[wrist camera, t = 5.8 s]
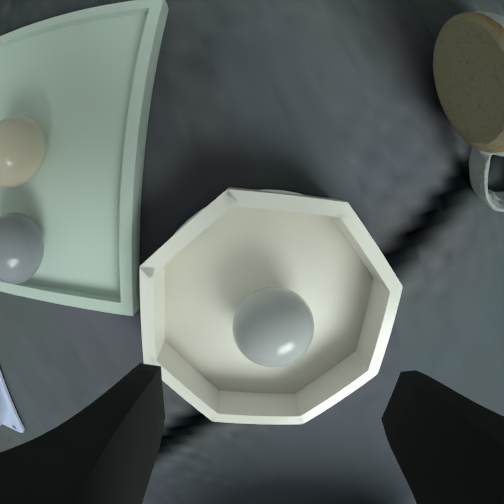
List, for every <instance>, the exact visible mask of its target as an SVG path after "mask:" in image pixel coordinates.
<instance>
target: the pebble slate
mask: <svg viewBox="0 0 504 504" xmlns="http://www.w3.org/2000/svg"><path fill="white" fill-rule="evenodd" d="M43 255H44V241H43V236H42V233H41V231H40V229H39V227H38V226H37V224H36V223H35V222H34V221H33V220H32V219H31V218H30V217H28V216H26V215H24V214H21V213H16V212H12V213H6V214H3V215H1V216H0V280H1V281H3V282H6V283H10V284H18V283H22V282H24V281H26V280H28V279H29V278H31V277H32V276H33V275H34V274H35V273H36V272H37V270H38V268H39V267H40V265H41V262H42V259H43Z"/></svg>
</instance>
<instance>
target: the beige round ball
mask: <svg viewBox="0 0 504 504" xmlns="http://www.w3.org/2000/svg"><path fill="white" fill-rule="evenodd" d="M45 153H46V140H45V135H44V132H43V130H42V128H41V127H40V125H39V124H38V123H37V122H36V121H35V120H34V119H32V118H30V117H28V116H25V115H12V116H9V117H6V118H4V119H3V120H1V121H0V185H1V186H4V187H16V186H19V185H22V184H24V183H26V182H27V181H29V180H30V179H31V178H32V177H33V176H34V175H35V174H36V173H37V172H38V170H39V169H40V167H41V165H42V163H43V160H44V157H45Z"/></svg>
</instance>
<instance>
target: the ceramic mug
mask: <svg viewBox="0 0 504 504" xmlns="http://www.w3.org/2000/svg"><path fill="white" fill-rule="evenodd" d="M433 74H434V80H435V86H436V91H437V94H438V97H439V100H440V103H441V106H442V109H443V110H444V112H445V114H446V116H447V118H448V120H449V122H450V123H451V125H452V126H453V128H454V129H455V131H456V132H457V133H458V134H459V135H460V136H461V137H462V139H463V140H464V141H466V142H467V143H468V144H470V145H471V146H472V147H471V153H470V158H469V170H470V173H469V175H470V183H471V186H472V188H473V191H474V192H475V194H476V195H477V196H478V197H479V198H480V199H481V200H482V201H484V202H485V203H486V204H487V205H488V206H489V207H490V208H492V209H493V210H496V211H499V212H504V191H503V192H493V191H492V190H490V189H488V186H487V183H488V170H489V166H490V158H491V155H498V156H504V16H501V15H498V14H493V13H487V12H464V13H460V14H457V15H455V16H453V17H452V18H450V19H449V20H448V21H447V22H446V23H445V24H444V25H443V27H442V29H441V31H440V33H439V35H438V37H437V39H436V43H435V47H434V54H433Z"/></svg>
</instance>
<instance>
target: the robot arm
mask: <svg viewBox="0 0 504 504" xmlns="http://www.w3.org/2000/svg"><path fill="white" fill-rule="evenodd" d="M164 420H165V412H164V401H163V388H162V374H161V366H156V365H149V364H143V363H140V364H139V365H137V366H136V367H135V368H134V369H132V370H131V371H130V372H129V373H128V374H127V375H125V376H124V377H123V378H122V379H121V380H120V381H119V382H117V383H116V384H115V385H114V386H113V387H111V388H110V389H109V390H108V391H107V392H105V393H104V394H103V395H102V396H100V397H99V398H98V399H96V400H95V401H94V402H93V403H91V404H90V405H89V406H87V407H86V408H84V409H83V410H82V411H80V412H79V413H77V414H76V415H74V416H73V417H72V418H70V419H69V420H67V421H66V422H64V423H62V424H61V425H59V426H58V427H56V428H54V429H52V430H51V431H49V432H47V433H45V434H43V435H41V436H39V437H37V438H35V439H33V440H31V441H29V442H26V443H24V444H21V445H19V446H16V447H14V448H11V449H9V450H6V451H4V452H1V453H0V504H142V501H143V498H144V495H145V492H146V488H147V485H148V482H149V479H150V476H151V472H152V469H153V466H154V463H155V460H156V457H157V453H158V450H159V447H160V442H161V437H162V432H163V426H164ZM382 422H383V426H384V429H385V433H386V436H387V439H388V442H389V445H390V447H391V449H392V451H393V453H394V455H395V457H396V459H397V462H398V464H399V466H400V468H401V470H402V472H403V474H404V476H405V478H406V480H407V482H408V484H409V486H410V488H411V490H412V493H413V495H414V498H415V500H416V503H417V504H504V416H502V415H499V414H497V413H495V412H493V411H491V410H489V409H487V408H485V407H483V406H481V405H479V404H477V403H475V402H473V401H471V400H470V399H468V398H466V397H464V396H462V395H461V394H459V393H457V392H455V391H454V390H452V389H450V388H448V387H447V386H445V385H443V384H441V383H440V382H438V381H436V380H434V379H432V378H431V377H429V376H427V375H425V374H423V373H421V372H418V371H416V370H415V371H405V372H401V373H400V376H399V378H398V381H397V383H396V386H395V388H394V391H393V393H392V396H391V398H390V401H389V403H388V405H387V408H386V410H385V412H384V414H383V417H382ZM1 424H4V425H6V426H8V427H10V428H12V429H14V430H16V431H18V432H20V433H23V432H24V430H25V429H24V427H23V425H22V422H21V420H20V418H19V416H18V414H17V411H16V409H15V407H14V404H13V402H12V399H11V397H10V394H9V392H8V389H7V387H6V384H5V381H4V379H3V376H2V373H1V370H0V426H1Z"/></svg>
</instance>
